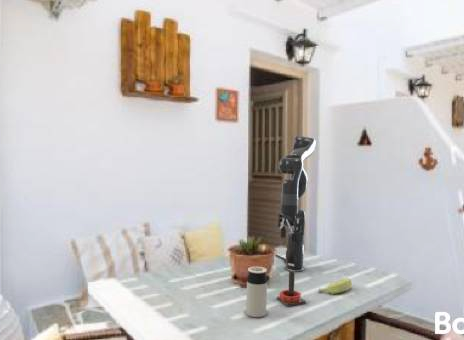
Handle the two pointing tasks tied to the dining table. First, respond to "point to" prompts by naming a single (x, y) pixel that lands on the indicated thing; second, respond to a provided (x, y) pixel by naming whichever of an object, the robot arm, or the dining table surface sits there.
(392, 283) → the dining table surface
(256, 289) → the travel mug
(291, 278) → the peg stand
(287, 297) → the ring
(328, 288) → the banana
